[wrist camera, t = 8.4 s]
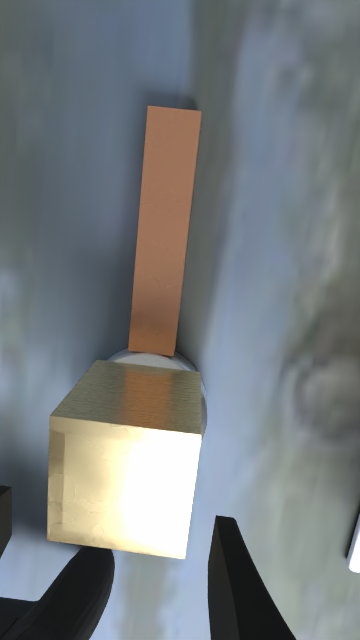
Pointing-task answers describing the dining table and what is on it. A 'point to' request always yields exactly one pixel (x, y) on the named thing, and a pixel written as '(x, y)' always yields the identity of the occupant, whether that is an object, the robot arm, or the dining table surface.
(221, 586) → the robot arm
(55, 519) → the brushed gold cube
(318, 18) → the dining table surface
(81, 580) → the gaming controller
